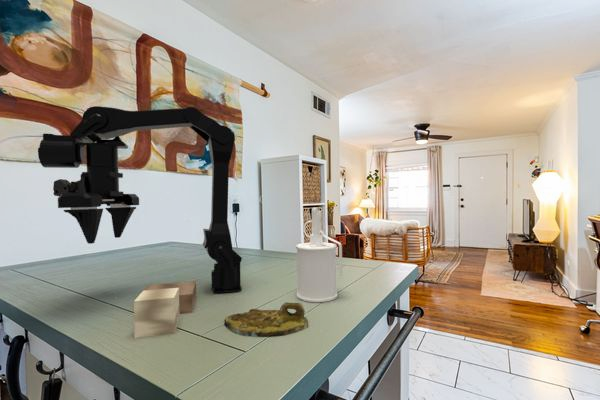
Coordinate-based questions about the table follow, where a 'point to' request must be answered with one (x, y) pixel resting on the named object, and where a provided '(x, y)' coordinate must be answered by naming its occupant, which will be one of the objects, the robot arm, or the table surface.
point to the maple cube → (156, 312)
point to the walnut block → (180, 294)
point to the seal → (268, 321)
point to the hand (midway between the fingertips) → (105, 240)
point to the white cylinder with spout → (317, 264)
